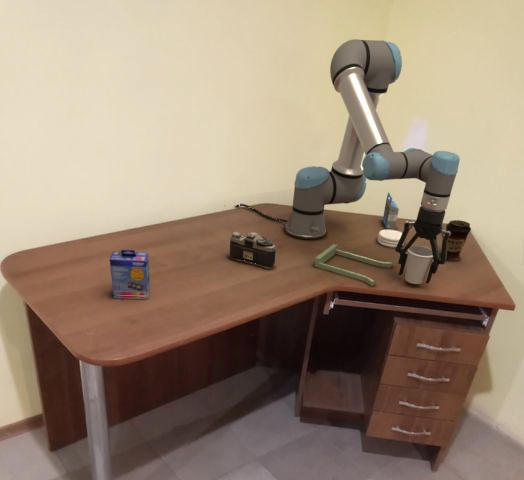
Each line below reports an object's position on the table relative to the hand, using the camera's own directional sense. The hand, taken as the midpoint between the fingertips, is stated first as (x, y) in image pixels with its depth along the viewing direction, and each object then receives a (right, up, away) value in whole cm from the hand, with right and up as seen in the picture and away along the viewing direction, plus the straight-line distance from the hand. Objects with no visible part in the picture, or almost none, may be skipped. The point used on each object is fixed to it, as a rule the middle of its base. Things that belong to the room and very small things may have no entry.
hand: (414, 277), depth 165 cm
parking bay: (-18, +5, +9) cm, 21 cm away
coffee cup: (+19, +10, +22) cm, 31 cm away
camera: (-51, +7, +8) cm, 52 cm away
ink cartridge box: (-85, -8, -18) cm, 87 cm away
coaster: (0, +17, +30) cm, 35 cm away
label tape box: (+3, +28, +46) cm, 54 cm away
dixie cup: (0, -1, +1) cm, 1 cm away
